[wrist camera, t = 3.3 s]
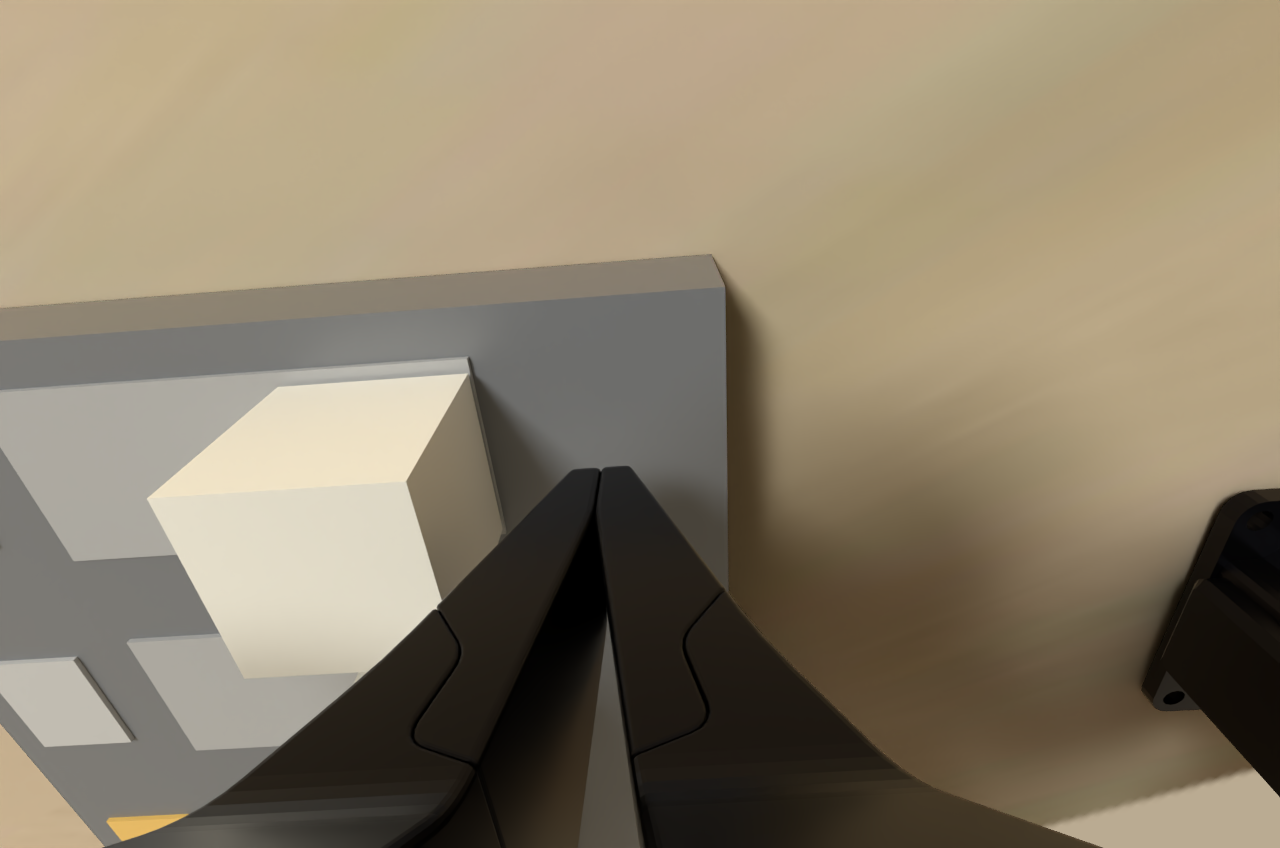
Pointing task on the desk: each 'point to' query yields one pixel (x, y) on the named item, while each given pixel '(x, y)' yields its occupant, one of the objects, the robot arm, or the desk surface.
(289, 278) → the desk surface
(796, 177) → the desk surface
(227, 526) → the tab
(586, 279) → the switch panel
